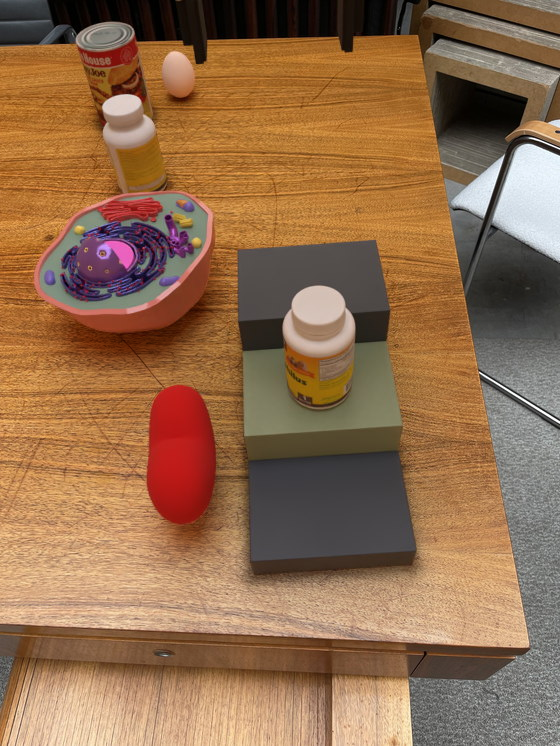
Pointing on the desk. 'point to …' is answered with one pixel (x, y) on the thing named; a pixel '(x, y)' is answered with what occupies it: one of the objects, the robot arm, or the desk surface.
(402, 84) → the desk surface
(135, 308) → the cell model
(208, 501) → the red kidney model
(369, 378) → the tiered shelf
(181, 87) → the egg
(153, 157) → the pill bottle
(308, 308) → the supplement bottle
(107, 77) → the canned food
